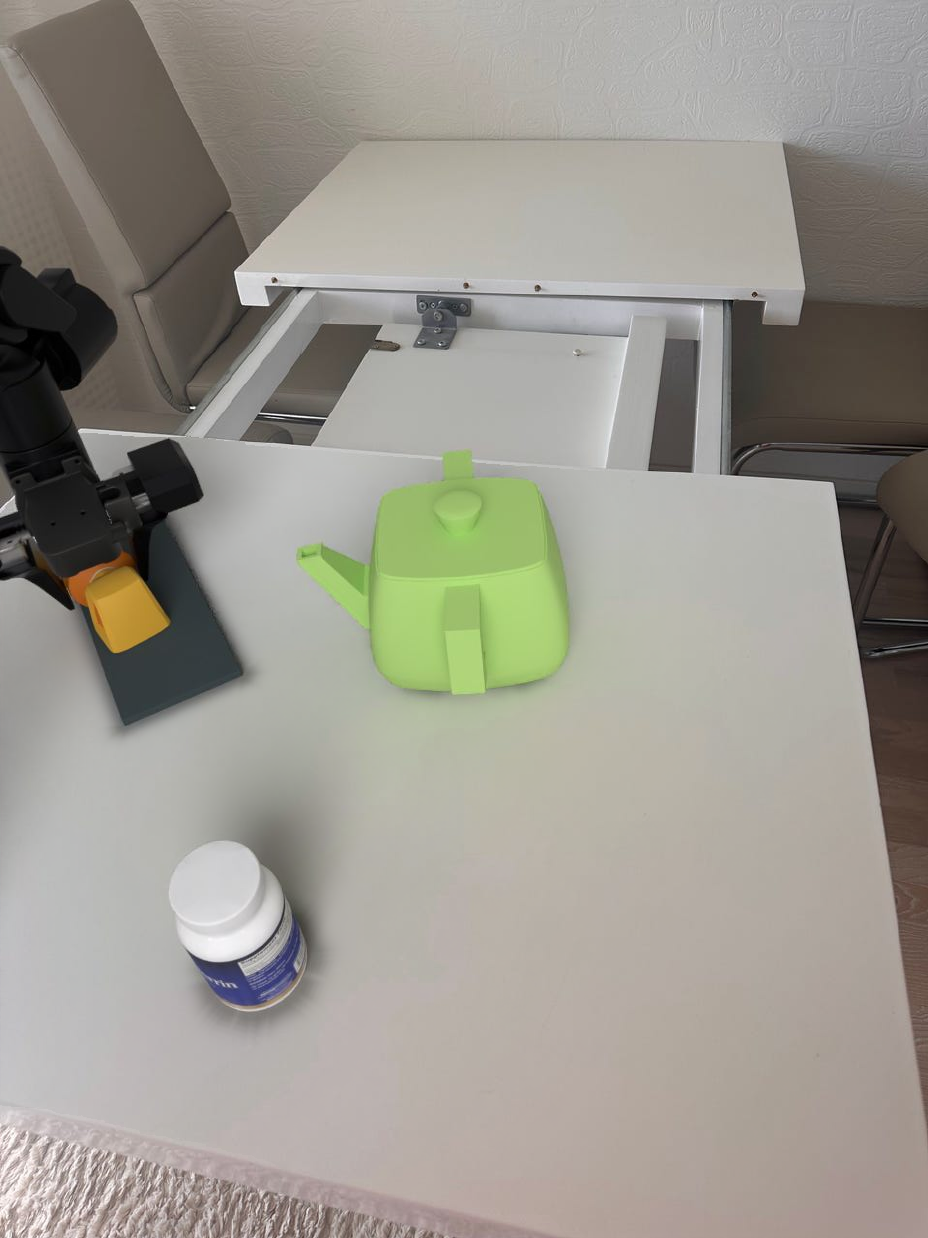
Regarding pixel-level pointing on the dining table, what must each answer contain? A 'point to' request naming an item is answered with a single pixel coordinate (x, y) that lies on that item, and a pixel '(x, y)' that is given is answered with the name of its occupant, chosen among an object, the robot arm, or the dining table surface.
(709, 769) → the dining table surface
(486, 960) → the dining table surface
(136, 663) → the mat
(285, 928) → the pill bottle
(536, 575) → the teapot
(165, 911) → the dining table surface
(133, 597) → the multicoloured piece
